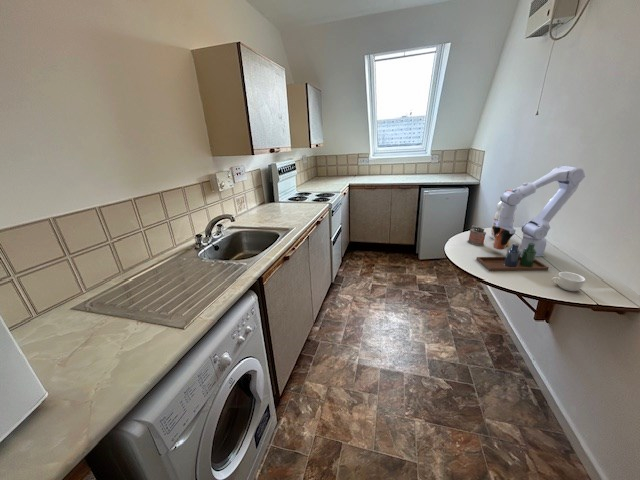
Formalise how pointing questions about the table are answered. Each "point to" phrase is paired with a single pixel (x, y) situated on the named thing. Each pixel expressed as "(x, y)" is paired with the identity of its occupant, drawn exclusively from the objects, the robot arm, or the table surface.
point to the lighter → (477, 236)
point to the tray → (498, 265)
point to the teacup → (569, 281)
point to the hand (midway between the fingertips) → (500, 242)
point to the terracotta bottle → (499, 241)
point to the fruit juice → (498, 216)
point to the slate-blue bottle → (512, 256)
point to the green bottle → (528, 256)
